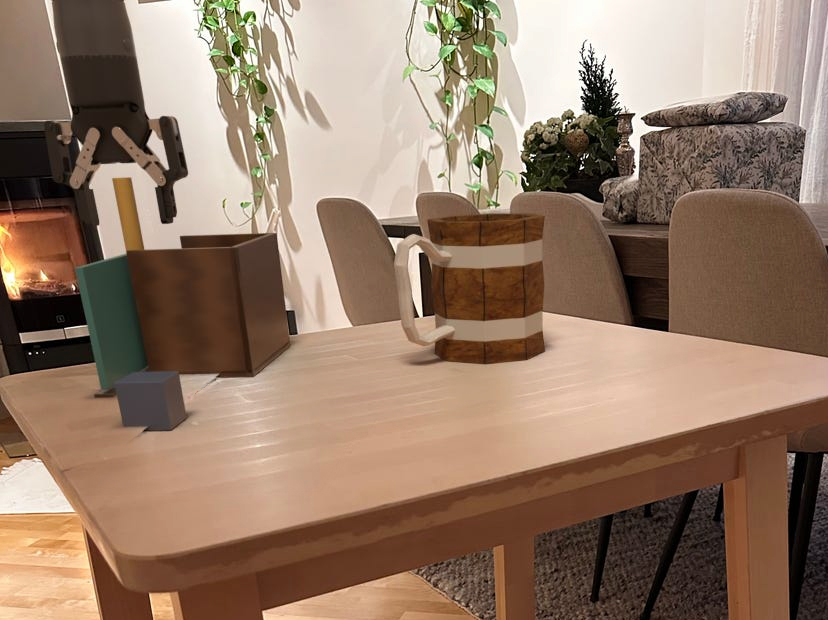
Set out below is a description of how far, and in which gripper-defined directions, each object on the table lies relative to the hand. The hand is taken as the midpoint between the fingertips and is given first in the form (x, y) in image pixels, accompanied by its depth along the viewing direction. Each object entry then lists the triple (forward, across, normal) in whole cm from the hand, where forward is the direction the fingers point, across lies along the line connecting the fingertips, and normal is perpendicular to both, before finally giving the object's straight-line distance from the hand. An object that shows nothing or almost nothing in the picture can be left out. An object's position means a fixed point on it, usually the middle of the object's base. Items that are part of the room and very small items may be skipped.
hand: (130, 224), depth 106 cm
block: (+16, -9, +26) cm, 31 cm away
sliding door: (+15, 0, +6) cm, 16 cm away
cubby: (+16, -6, +2) cm, 17 cm away
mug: (+16, -37, -4) cm, 41 cm away
